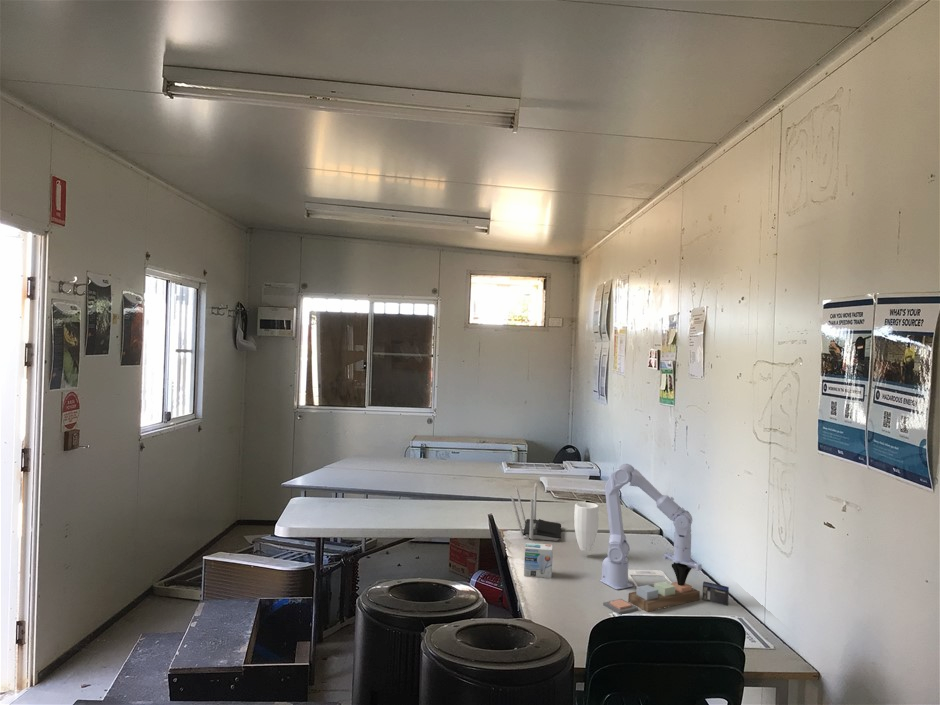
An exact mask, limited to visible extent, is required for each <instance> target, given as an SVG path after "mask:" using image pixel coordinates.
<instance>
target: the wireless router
mask: <svg viewBox="0 0 940 705" xmlns="http://www.w3.org/2000/svg"><path fill="white" fill-rule="evenodd" d="M533 487H534V488H533V498H530V504H529V505H530V509H529V510H530V512H529V518H527V519H526V517H525V516H526V515H525V513H524V508H523V505H522V501H521V497H520V493H519V489H518V487H517V486H516V485H514V489H515V492H516V496H517V501H518V503H519V504H518V505H519V509H520V512H521V516H522V520H523V521H522V522H523V525H524V529H523V526H522V524H521V520H520V516H519V513H518V509H517V506H516V501H515V499H514V498H513V496H510V499H511V503H512V506H513V510H514V513H515V516H516V521H517V523H518V528H519V531H520V535H521V537H524V536H525V538H526V539H527V538H530V540H541V541H543V540H544V541H555V542H558V541H559V540H560V539H561V537H562V524H561V523H559V522H554V521H548V520H544V519H542V518H541V519H540V518H538V519H537V493H538V491H537V490H538V488H537V487H538V486H537V482H535V483H534V486H533Z"/></svg>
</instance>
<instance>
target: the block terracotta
mask: <svg viewBox="0 0 940 705" xmlns="http://www.w3.org/2000/svg"><path fill="white" fill-rule="evenodd" d="M671 585H673V586H675V590H677V591H679V592H681V593H682V592H687V591H691V590H692V588H693V586H692V585H691V584H688V583H686V582H685V585H682V586H680V585H678V582H677V581H675V582H672V583H671Z"/></svg>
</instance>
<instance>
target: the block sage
mask: <svg viewBox="0 0 940 705" xmlns="http://www.w3.org/2000/svg"><path fill="white" fill-rule="evenodd" d="M653 587H654V588H655V589H657V590H658V593H659V594H661V595H663V596H669V595H673V594H675V586H673V585H671V584H670V583H669V582H668V581H666V580H665V581H660V582H655V583H653Z"/></svg>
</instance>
